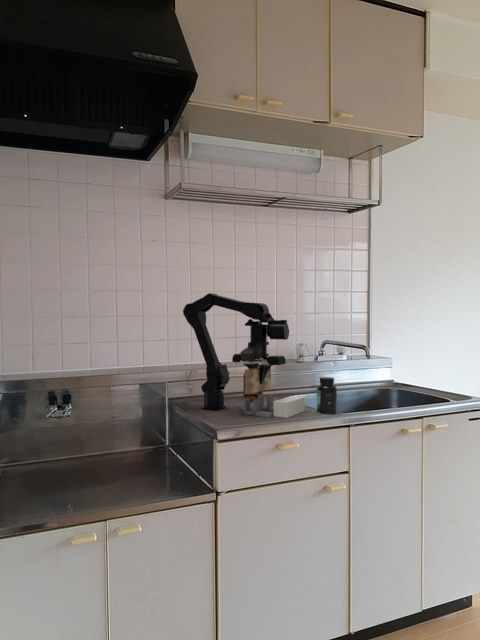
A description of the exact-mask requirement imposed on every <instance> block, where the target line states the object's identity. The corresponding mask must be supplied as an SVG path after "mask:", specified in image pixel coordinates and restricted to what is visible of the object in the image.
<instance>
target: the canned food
mask: <svg viewBox="0 0 480 640" xmlns="http://www.w3.org/2000/svg"><path fill="white" fill-rule="evenodd" d="M242 377H243V378H242V380H243V382H242V383H243V386H242V387H243V388H242V389H243V399H246V398H250V403H253V400H257V396H258V395H264V391H260V392H256V393H252V394H245V371H244V372H243V375H242Z"/></svg>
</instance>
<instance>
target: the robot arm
mask: <svg viewBox="0 0 480 640" xmlns="http://www.w3.org/2000/svg"><path fill="white" fill-rule="evenodd" d="M214 306H216V307H221V308H222V309H223V308H224V309H228V310H231V311H235V312H238V313H241V314H242V315H244V316H246V317H248V318H250V319H248V320H247V321H246V322H245V324H244V326H246V327H250V340H249V341H248V343H247V347H245V348H244V349H242V351H240V352H239V353H234V354H233V355H232V358H231V363H241V362H243V366H245V367H246V368H247V369H253V368H260V384H263V382H264V379H265V377H266V375H267V373H268V371H269V369H270V367H271V368H272V367H273V366H282V365H286V362H287V361H286V357H285V356H284V355H276V354H275V355H269V353H267V352H268V348H267V347H268V346H269V345H270V344H269V343H270V342H269V341H268V338H269V339H270V340H276V341H277V340H280V341H282V340H283V341H287V340H288V339H289V336H290V328H289V324H288V320H287V319H279V320H278V319H277V320H276V319H275V318H274V317H273V316H272V314H271V312H270V309H269V307H268V305H267V304H265V303H264V302H263V303H262V302H247V301H242V300H238V299H235V298H230V297H226V296H222V295H220V294H216V293H212V292H211V293H207V294H205V295H204V296H203V297H200V298H198V299H196V300H194V301H193V302H191V303H190V302H189V303H186V304H185V306H184V308H183V309H182V313H183V316H184V318H185V320H186V322H187V323H188V324H189V325H190V326H191V328H192V329H193V331H194V334H195V336H196V339H197V342H198V345H199V348H200V351H201V353H202V356H203V359H204V362H205V365H206V370H205V374H206V381H205V382H204V383H203V384H202V385H201V386H200V388H201V391H202V393H203V406H201V407H200V408H201V409H203V410H211V411H212V410H213V411H218V410H221V409H224V408H226V405H224V404H225V402H224V401H225V396H224V390H225V387H226V385H228V384H229V381H230V375H231V373H230V372H229V370H228V366H227V364H226V363H224V364H222V363H221V362H220V360H219V358H218V355H217V353H216V350H215V346H214V344H213V341H212V339H211V336H210V332H209V330H208V327H207V314H206V313H207V312H209V311H210V310H211V309H212V308H213V307H214ZM254 320H255V321H254ZM264 323H265V324H264ZM260 363H261V364H260Z"/></svg>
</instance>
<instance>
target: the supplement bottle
mask: <svg viewBox="0 0 480 640" xmlns="http://www.w3.org/2000/svg"><path fill="white" fill-rule="evenodd" d="M334 384H335V379H334V377H331V376H330V377H329V376H321V377H319V385H318V386H317V387H316V412H317V413H318V412H320V413H319V414H321V413H335V414H336V413H337V412H338V409H337V408H338V389H337V386H336V385H334Z"/></svg>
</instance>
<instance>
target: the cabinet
mask: <svg viewBox="0 0 480 640" xmlns="http://www.w3.org/2000/svg"><path fill="white" fill-rule="evenodd" d="M264 397H265V395H264V394H263V395H258V396H257V400H253V402H252V403H253V404H252V406H253V407H252V409H251V402H250V398H246V399H244V398H243V400H242V404H243V407H242V410H243V411H242V412H243V415H249V416H255V417H256V416H257V417H262V418H263V417H264V418H271V417H275V418H276V417H277V418H285V419H287V418H290V417H293V416H297V415H299V414H302V413H304V411H305V403H306V402H305V400H306V399H305V396H296V395H291V396H287V397H283V398H280V399H277V400H274V395H268V396H266V405H264V404H265V403H264V400H265V398H264ZM301 412H302V413H301Z"/></svg>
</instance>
